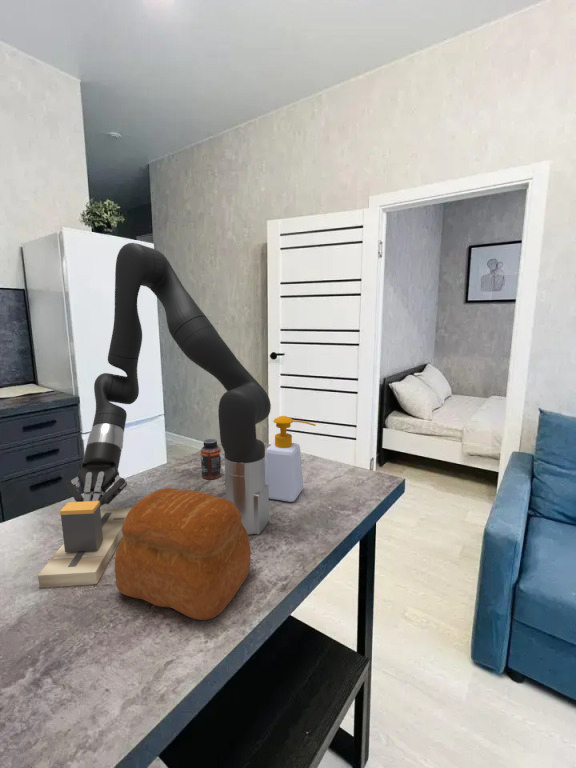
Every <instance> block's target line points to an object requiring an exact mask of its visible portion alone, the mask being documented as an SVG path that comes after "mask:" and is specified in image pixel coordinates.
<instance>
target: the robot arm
mask: <svg viewBox="0 0 576 768" xmlns="http://www.w3.org/2000/svg"><path fill="white" fill-rule="evenodd" d="M114 273H115V276H114V279H115V280H114V312H113V313H114V316H113V317H114V318H113V319H114V320H113V328H112V333H111V334H112V335H111V339H110V343H109V349H108V353H107V354H108V355H107V363H108V364H110V365H111V367H114V368H117V369H119V370H121V371H123V372H124V373H125V374H126V376H125V375H119V374H113V373H110V372H109V373H107V372H104V373H102V374H101V373H100V374H99V375H98V376H97V377H96V378H95V381H94V385H93V390H94V399H95V412H94V417H93V418H94V419H93V423H92V427H91V429H90V432H89V436H88V438H87V442H86V446H85V451H84V456H83V459H82V463H81V469H80V470H79V471H78V473H77V476H76V477H74V478H73V479H67V480H65V482H64V484H65V486H66V487H67V489H68V491H69V493H70V494H71V497H73V499H74V502H85V501H100V508H101V507H102V506H104V505H109V504H111V502H112V501H113V500H114V499H115V498H116V497H117V496H118V495H119V494H120V493H121V492H122V491H123V490H124V489H125V488H126V487H127V486H128V482H127V480H126V479H125V478H124V477H121V476H120V472H119V467H120V462H121V461H120V460H121V455H122V450H123V447H124V433H125V428H126V422H127V418H128V417H127V411H126V410H125V409H124V408H123V407H122V406H119V405H117V404H122V405H123V404H124V405H131V404H133V403H134V402H136V401H137V399H138V398H139V394H140V388H139V378H138V363H139V357H140V353H141V347H142V344H143V343H142V342H143V328H142V324H141V319H140V316H139V309H138V298H139V297H138V296H139V292H140V289H141V287H142V286H143V287H145V288H148V289H150V291H151V292H152V293H153V294H154V296H155V297H156V298H157V299H158V300H159V302H160V303H161V305H162V306H163V308H164V311H165V317H166V325H167V329H168V331H169V334H170V336H171V337H172V339H173V340H174V342H175V343H176V344H177V346H178V347H179V349H180V350H181V352H182V353H183V354H184V355H185V356H186V358H188V359H189V360H190V361H192V363H194V364H195V365H197V366H198V367H200V368H201V369H203V370H204V371H205V372H207V373H209V374H211V376H213V377H214V378H215V379H217V381H218V382H219V383H220V384H221V386H223V388H224V389H225V391H226V392H225V393H223V394H222V396H221V397H220V399H219V403H218V412H217V413H218V415H217V416H218V427H219V440H220V444H221V447H222V449H223V453H224V482H225V483H224V484H225V487H224V488H225V489H224V490H225V499H227V500H229V501H231V502H232V503H233V504H234V505H235V506H236V507H237V509H238V510H239V511H240V513H241V515H242V519H241V522H242V524H243V526H244V528H245V529H246V531H247V533H248V536H249V535H261V532H262V531H263V530H264V528H265V527H266V526H267V525H268V523H269V522H270V521H269V520H270V511H269V510H270V508H269V507H270V506H269V502H270V501H269V499H270V498H269V486H268V485H267V484H265V460H266V446H265V443H264V442H263V441H262V440H261V439H258V438H257V430H256V428H257V427H256V426H257V424H259V423H261V422H262V421H265V420H266V419H267V418H268V417H269V415H270V413H271V409H272V407H271V406H272V405H271V400H270V397H269V395H268V393H267V392H266V390H265V389H264V388H263V386H262V385H261V384H260V383H259V382H258V380H256V378H255V377H254V376H252V374H251V373H250V372H249V371H248V370H247V369H246V368H245V367H244V365H243V364H242V363H241V362H240V361H239V360H238V358H237V357H236V356H235V354H234V353H233V352H232V351H233V350H232V349H230V347H229V346H228V345H227V343H226V342H225V340H224V339H223V338H222V337H221V335H220V334H219V332H218V331H217V330H216V328H215V326H214V325H213V324H212V322H211V321H210V320H209V318H208V317H207V316H206V315H205V313H204V312H203V311H202V309H200V307H199V305H198V304H197V303H196V302H195V299H193V297H192V295H190V294H189V292H188V291H187V290H186V288H185V287H184V285H183V284H182V282H181V280H180V279H179V277H178V275H177V273H176V271H175V270H174V268H173V267H172V265H171V263H170V261H169V260H168V259H167V257H166V256H165V255H164V254H163V253H162V252H161V251H159V250H157V249H155V248H153V247H150V246H146V245H143V244H139V243H136V242H128V243H126V244H123V246H121V248H120V249H119V251H118V253H117V256H116V261H115V272H114ZM80 484H81V485H82V487H83V488H84V490H83V494H84V496H82V494H81V492H80V490H79V488H80Z"/></svg>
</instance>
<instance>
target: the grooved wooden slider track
mask: <svg viewBox="0 0 576 768" xmlns="http://www.w3.org/2000/svg"><path fill="white" fill-rule="evenodd" d="M131 509H132V507H124V508H104V509H101V508H100V512H101V523H102V534H103V541H102V543H101V544H100V546H99V548H98V549H97V550H95V551H77V552H65V548H64V542H63V543H62V544H61V546H60V547H59V549H58V550H57V551H55V553H54V555H53V556H52V557H51V558H50V560H49V561H48V562H47V563H46V565H45V566H44V567H43V569H42V570H41V571H40V572H39V574H38V575H37V578H38V586H39V589H40V588H42V589H45V588H54V587H55V588H56V587H58V588H59V587H73V586H86V585H88V586H90V585H97V584H98V582H99V581H100V579H101V577H102V575H103V574H104V572H105V570H106V569H107V566H108V564H110V563H109V562H110V561H111V559H112V558H113V555H114V553H116V551H117V549H118V547H119V545H120V542H121V540H122V537H123V532H122V527H123V523H124V521H125V519H126V516H127V514H128V512H129V511H130V510H131Z"/></svg>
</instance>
